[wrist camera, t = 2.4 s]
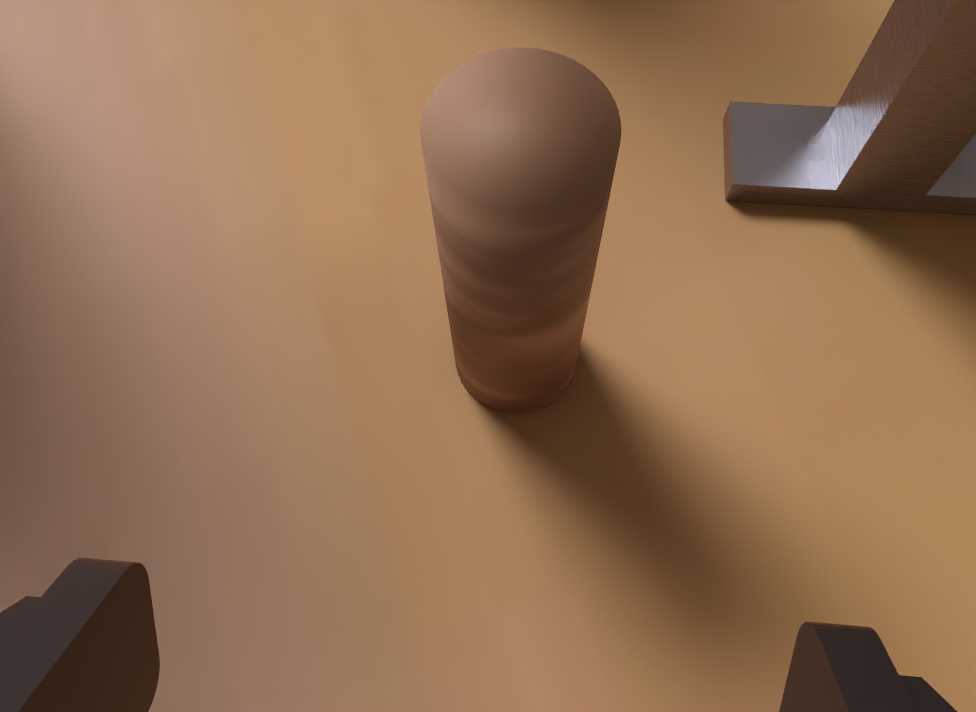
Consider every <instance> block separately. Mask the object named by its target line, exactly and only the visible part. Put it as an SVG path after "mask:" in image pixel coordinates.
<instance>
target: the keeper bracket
mask: <svg viewBox="0 0 976 712" xmlns="http://www.w3.org/2000/svg"><path fill="white" fill-rule="evenodd" d="M723 123H724V160H725V197H726V200H733V201H750V202H767V203H785V204H802V205H819V206H837V207H854V208H871V209H889V210H906V211H923V212H940V213H958V214H975V215H976V0H894V2H893V4H892V6H891V8H890V10H889V11H888V13H887V15H886V17H885V19H884V20H883V22H882V24H881V26H880V28H879V30H878V31H877V33H876V35H875V37H874V39H873V41H872V42H871V44H870V46H869V48H868V50H867V52H866V53H865V55H864V57H863V59H862V61H861V62H860V64H859V66H858V68H857V70H856V72H855V73H854V75H853V77H852V79H851V81H850V83H849V84H848V86H847V88H846V90H845V92H844V94H843V95H842V97H841V99H840V101H839V103H838V104H837V106H836V107H821V106H802V105H783V104H763V103H744V102H730V103H729V106H728V108H727V111H726V114H725V117H724V119H723Z"/></svg>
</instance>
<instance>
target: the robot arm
mask: <svg viewBox="0 0 976 712" xmlns="http://www.w3.org/2000/svg"><path fill="white" fill-rule="evenodd" d="M159 666H160V661H159V652H158V644H157V637H156V629H155V622H154V615H153V607H152V600H151V593H150V585H149V578H148V574H147V571H146V569H145V567H144V566H143V565H142V564H141V563H136V562H124V561H112V560H100V559H89V558H79V559H76V560H74V561H73V562H72V563H70V564H69V565H68V566H67V568H66V569H65V570H64V571H63V572H62V573H61V575H60V576H59V577H58V578H57V579H56V580H55V581H54V583H53V584H52V585H51V586H50V587H49V588H48V590H47V591H46V592H45V593H44V594H43V595H42V596H41V598H40V597H29V596H26V597H25V598H23V599H22V600H20V601H18V602H17V603H15V604H14V605H12V606H10V607H9V608H7V609H6V610H4V611H3V612H1V613H0V712H148V711H149V709H150V706H151V704H152V701H153V698H154V695H155V692H156V688H157V683H158V677H159ZM779 712H957V711H956V710H955V709H954V708H953V707H952V706H951V705H950V704H949V703H948V702H947V701H946V700H945V699H943V698H942V697H941V696H940V695H939V694H938V693H937V692H936V691H935V690H934V689H933V688H932V687H931V686H930V685H929V684H928V683H927V682H926V681H925V680H924V679H923V678H922V677H912V676H901V675H898V673H897V671H896V669H895V667H894V665H893V663H892V661H891V659H890V657H889V655H888V653H887V651H886V649H885V647H884V645H883V643H882V641H881V639H880V638H879V636H878V634H877V633H876V632H875V630H873V629H872V628H870V627H862V626H851V625H839V624H827V623H816V622H805V623H803V624H802V626H801V627H800V629H799V632H798V635H797V639H796V643H795V647H794V651H793V656H792V660H791V664H790V668H789V673H788V677H787V681H786V685H785V690H784V694H783V698H782V702H781V707H780V711H779Z"/></svg>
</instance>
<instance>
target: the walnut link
mask: <svg viewBox="0 0 976 712" xmlns="http://www.w3.org/2000/svg"><path fill="white" fill-rule="evenodd" d="M420 133H421V143H422V149H423V156H424V162H425V168H426V175H427V181H428V188H429V194H430V201H431V207H432V214H433V220H434V226H435V233H436V239H437V246H438V252H439V259H440V265H441V272H442V278H443V284H444V291H445V297H446V304H447V310H448V317H449V323H450V330H451V336H452V342H453V349H454V355H455V362H456V368H457V371H458V375H459V377H460V380H461V382H462V383H463V385H464V387H465V388H466V389H467V391H468V392H469V393H470V394H471V395H472V396H473V397H474V398H475V399H476V400H478V401H479V402H480V403H482V404H484V405H486V406H487V407H489V408H492V409H494V410H498V411H501V412H507V413H526V412H531V411H535V410H538V409H540V408H543V407H545V406H547V405H549V404H550V403H552V402H553V401H554V400H556V399H557V398H558V397H559V396H560V395H561V394H562V393H563V392H564V391H565V389H566V388H567V387H568V385H569V383H570V382H571V380H572V377H573V375H574V371H575V368H576V363H577V358H578V353H579V348H580V343H581V337H582V332H583V327H584V322H585V317H586V312H587V307H588V302H589V297H590V292H591V287H592V282H593V277H594V272H595V267H596V262H597V257H598V252H599V247H600V241H601V236H602V231H603V226H604V221H605V216H606V211H607V206H608V201H609V196H610V191H611V186H612V181H613V176H614V171H615V166H616V161H617V156H618V151H619V146H620V138H621V121H620V116H619V111H618V108H617V106H616V103H615V100H614V99H613V97H612V95H611V93H610V92H609V90H608V89H607V87H606V86H605V85H604V84H603V82H602V81H601V80H600V79H599V78H598V77H597V76H596V75H595V74H594V73H592V72H591V71H590V70H589V69H587V68H586V67H585V66H583V65H581V64H580V63H578V62H576V61H574V60H572V59H570V58H568V57H566V56H563V55H560V54H557V53H554V52H550V51H546V50H541V49H532V48H510V49H501V50H497V51H492V52H488V53H485V54H482V55H479V56H477V57H474V58H472V59H470V60H468V61H466V62H464V63H463V64H461V65H459V66H458V67H456V68H455V69H453V70H452V71H451V72H450V73H448V74H447V75H446V76H445V77H444V78H443V79H442V80H441V81H440V82H439V83H438V85H437V86H436V87H435V89H434V90H433V91H432V93H431V95H430V97H429V98H428V100H427V103H426V105H425V108H424V110H423V115H422V119H421V131H420Z"/></svg>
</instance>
